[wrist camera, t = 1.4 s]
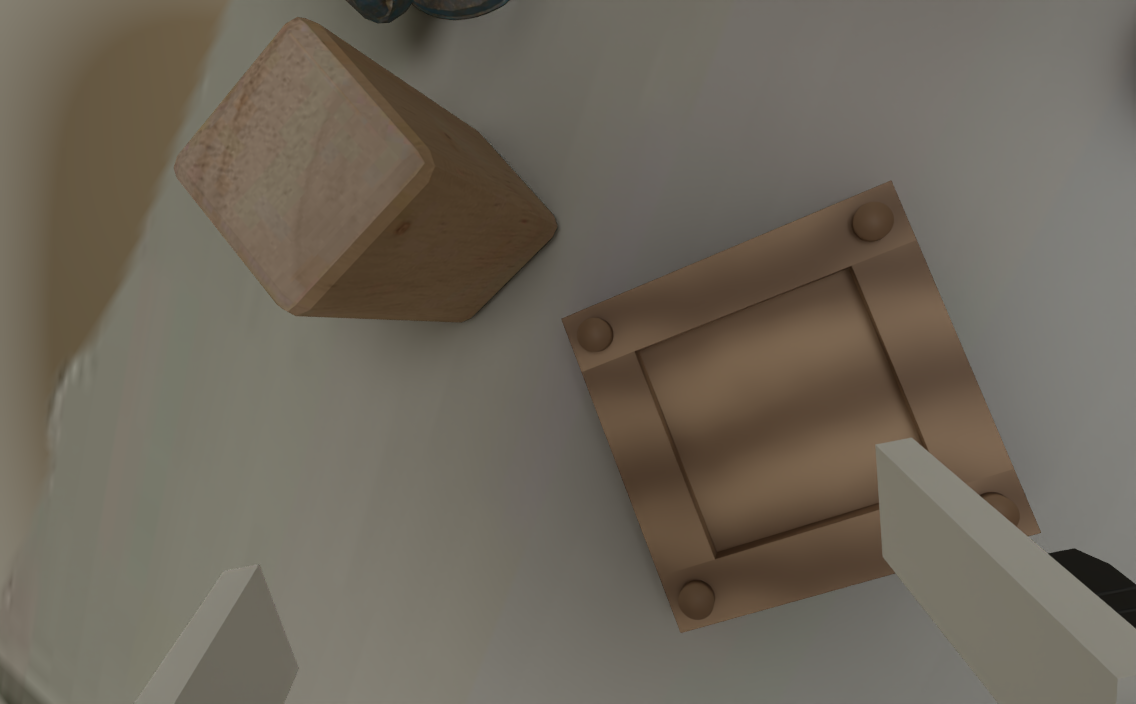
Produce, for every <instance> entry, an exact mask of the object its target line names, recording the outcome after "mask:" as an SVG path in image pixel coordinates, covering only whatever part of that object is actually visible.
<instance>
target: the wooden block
mask: <svg viewBox="0 0 1136 704" xmlns="http://www.w3.org/2000/svg"><path fill="white" fill-rule="evenodd" d="M174 170H175V174H176V177H177V179H178V180H179V181H180V183H181V184H182V185H183V186H184V188H185V189H186V190H187V191H188V193H189V194H190V195H191V196H192V198H193V199H194V200H195V201H196V203H197V204H198V205H199V207H200V208H201V209H202V210H203V212H204V213H205V214H206V215H207V217H208V218H209V219H210V220H211V222H212V223H213V224H214V225H215V227H216V228H217V229H218V231H219V232H220V233H221V234H222V236H223V237H224V238H225V239H226V241H227V242H228V243H229V244H230V246H231V247H232V248H233V250H234V251H235V252H236V253H237V255H238V256H239V257H240V258H241V260H242V261H243V262H244V263H245V265H246V266H247V267H248V268H249V270H250V271H251V272H252V274H253V275H254V276H255V277H256V279H257V280H258V281H259V282H260V284H261V285H262V286H263V287H264V289H265V290H266V291H267V292H268V294H269V295H270V296H271V298H272V299H273V300H274V301H275V303H276V304H277V305H278V306H280V307H281V308H282V309H284V310H286V311H287V312H289V313H291V314H293V315H295V316H308V317H334V318H360V319H387V320H413V321H439V322H463V321H466V320H468V319H471V318H472V317H473V316H474V315H475V314H476V313H477V312H478V311H479V310H480V309H481V308H482V307H483V306H484V305H485V304H486V303H487V302H488V301H489V300H490V299H491V298H492V297H493V296H494V295H495V294H496V293H497V292H498V291H499V290H500V289H501V288H502V287H503V286H504V285H505V284H506V283H507V282H508V281H509V280H510V279H511V278H512V277H513V276H514V275H515V274H516V273H517V272H518V271H519V270H520V269H521V268H522V267H523V266H524V265H525V264H526V263H527V262H528V261H529V260H530V259H531V258H532V257H533V256H534V255H535V254H536V253H537V252H538V251H539V250H540V249H541V248H542V247H543V246H544V245H545V244H546V243H547V242H548V241H549V240H550V239H551V238H552V237H553V235H554V233H555V231H556V229H557V223H556V220H555V218H554V215H553V214H552V213H551V212H550V211H549V210H548V208H547V207H546V206H545V205H544V204H543V203H542V202H541V201H540V200H539V199H538V197H537V196H536V195H535V194H534V193H533V192H532V191H531V190H530V189H529V187H528V186H527V185H526V184H525V183H524V182H523V181H522V180H521V179H520V177H519V176H518V175H517V174H516V173H515V172H514V171H513V170H512V169H511V167H510V166H509V165H508V164H507V163H506V162H505V161H504V160H503V159H502V158H501V156H500V155H499V154H498V153H497V152H496V151H495V150H494V149H493V148H492V146H491V145H490V144H489V143H488V142H487V141H486V140H485V139H484V138H483V136H482V135H481V134H480V133H479V132H478V131H476V130H475V129H474V128H472V127H471V126H469V125H468V124H466V123H465V122H463V121H462V120H460V119H459V118H457V117H456V116H454V115H453V114H451V113H450V112H448V111H447V110H445V109H444V108H442V107H441V106H440V105H438V104H437V103H435V102H434V101H432V100H431V99H429V98H428V97H426V96H425V95H423V94H422V93H420V92H419V91H417V90H416V89H414V88H413V87H411V86H410V85H408V84H407V83H405V82H404V81H403V80H401V79H400V78H398V77H397V76H395V75H394V74H392V73H391V72H389V71H388V70H386V69H385V68H383V67H382V66H380V65H379V64H377V63H376V62H374V61H373V60H371V59H370V58H369V57H367V56H366V55H364V54H363V53H361V52H360V51H358V50H357V49H355V48H354V47H352V46H351V45H349V44H348V43H346V42H345V41H343V40H342V39H340V38H339V37H337V36H336V35H335V34H333V33H332V32H330V31H329V30H327V29H326V28H324V27H323V26H321V25H320V24H318V23H315V22H313V21H311V20H308V19H306V18H300V17H296V18H295V19H293V20H291V21H290V22H288V23H286V24H285V25H284V26H283V27H282V29H281V30H280V31H279V32H278V33H277V35H276V36H275V37H274V38H273V40H272V41H271V42H270V43H269V45H268V46H267V47H266V48H265V49H264V51H263V52H262V53H261V54H260V56H259V57H258V58H257V59H256V60H255V62H254V63H253V64H252V65H251V67H250V68H249V69H248V70H247V71H246V73H245V74H244V75H243V76H242V78H241V79H240V80H239V81H238V82H237V84H236V85H235V86H234V87H233V89H232V90H231V91H230V92H229V93H228V95H227V96H226V97H225V98H224V100H223V101H222V102H221V103H220V104H219V106H218V107H217V108H216V109H215V111H214V112H213V113H212V114H211V115H210V117H209V118H208V119H207V120H206V122H205V123H204V124H203V125H202V126H201V128H200V129H199V130H198V131H197V133H196V134H195V135H194V136H193V137H192V139H191V140H190V141H189V142H188V144H187V145H186V146H185V147H184V148H183V150H182V151H181V152H180V153H179V155H178V156H177V159H176V162H175V165H174Z"/></svg>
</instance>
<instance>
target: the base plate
mask: <svg viewBox="0 0 1136 704" xmlns="http://www.w3.org/2000/svg"><path fill="white" fill-rule="evenodd" d="M562 322H563V325H564V327H565V330H566V333H567V335H568V338H569V340H570V343H571V346H572V348H573V351H574V354H575V356H576V359H577V361H578V364H579V367H580V369H581V372H582V375H583V377H584V380H585V382H586V385H587V388H588V390H589V393H590V396H591V398H592V401H593V404H594V406H595V409H596V411H597V414H598V417H599V419H600V422H601V425H602V427H603V430H604V432H605V435H606V438H607V440H608V443H609V446H610V448H611V451H612V453H613V456H614V459H615V461H616V464H617V467H618V469H619V472H620V475H621V477H622V480H623V482H624V485H625V488H626V490H627V493H628V496H629V498H630V501H631V503H632V506H633V509H634V511H635V514H636V517H637V519H638V522H639V524H640V527H641V530H642V532H643V535H644V538H645V540H646V543H647V546H648V548H649V551H650V553H651V556H652V559H653V561H654V564H655V567H656V569H657V572H658V574H659V577H660V580H661V582H662V585H663V588H664V590H665V593H666V595H667V598H668V601H669V603H670V606H671V609H672V611H673V614H674V616H675V619H676V622H677V624H678V627H679V630H680V632H681V633H683V632H686V631H690V630H693V629H697V628H701V627H704V626H708V625H711V624H715V623H719V622H722V621H726V620H729V619H733V618H737V617H740V616H744V615H747V614H751V613H754V612H758V611H762V610H765V609H769V608H772V607H776V606H780V605H783V604H787V603H790V602H794V601H798V600H801V599H805V598H808V597H812V596H816V595H819V594H823V593H826V592H830V591H833V590H837V589H841V588H844V587H848V586H851V585H855V584H859V583H862V582H866V581H869V580H873V579H877V578H880V577H884V576H887V575H891V574H895V572H894V571H893V569H892V568H891V567H890V566H889V564H888V563H887V562H886V560H885V559H884V558H883V555H882V539H881V524H880V509H879V494H878V479H877V463H876V448H875V445H876V444H881V443H886V442H891V441H896V440H902V439H907V438H913V439H914V440H915V441H916V442H918V443H919V444H920V445H921V446H922V447H923V448H925V449H926V450H927V451H928V452H929V453H930V454H932V455H933V456H934V457H935V458H936V459H937V460H939V461H940V462H941V463H942V464H943V465H945V466H946V467H947V468H948V469H949V470H950V471H952V472H953V473H954V474H955V475H956V476H957V477H959V478H960V479H961V480H962V481H963V482H964V483H966V484H967V485H968V486H969V487H970V488H971V489H973V490H974V491H975V492H976V493H977V494H979V495H980V496H981V497H982V498H983V499H984V500H986V501H987V502H988V503H989V504H990V505H991V506H993V507H994V508H995V509H996V510H997V511H998V512H1000V513H1001V514H1002V515H1003V516H1004V517H1005V518H1007V519H1008V520H1009V521H1010V522H1011V523H1012V524H1014V525H1015V526H1016V527H1017V528H1018V529H1020V530H1021V531H1022V532H1023V533H1024V534H1025V535H1027V536H1031V535H1035V534H1038V533H1041V531H1040V529H1039V526H1038V524H1037V522H1036V519H1035V517H1034V515H1033V512H1032V510H1031V507H1030V505H1029V503H1028V500H1027V498H1026V496H1025V493H1024V491H1023V489H1022V486H1021V484H1020V482H1019V479H1018V477H1017V475H1016V472H1015V470H1014V468H1013V465H1012V463H1011V461H1010V458H1009V456H1008V453H1007V451H1006V449H1005V446H1004V444H1003V442H1002V439H1001V437H1000V435H999V432H998V430H997V428H996V425H995V423H994V421H993V418H992V416H991V414H990V411H989V409H988V406H987V404H986V402H985V399H984V397H983V395H982V392H981V390H980V388H979V385H978V383H977V381H976V378H975V376H974V374H973V371H972V369H971V367H970V364H969V362H968V359H967V357H966V355H965V352H964V350H963V348H962V345H961V343H960V341H959V338H958V336H957V334H956V331H955V329H954V327H953V324H952V322H951V320H950V317H949V315H948V312H947V310H946V308H945V305H944V303H943V301H942V298H941V296H940V294H939V291H938V289H937V287H936V284H935V282H934V280H933V277H932V275H931V273H930V270H929V268H928V266H927V263H926V261H925V258H924V256H923V254H922V251H921V249H920V247H919V244H918V242H917V240H916V237H915V235H914V233H913V230H912V228H911V226H910V223H909V221H908V219H907V216H906V214H905V211H904V209H903V207H902V204H901V202H900V200H899V197H898V195H897V193H896V190H895V188H894V186H893V183H892V181H889V182H886V183H884V184H882V185H879V186H877V187H874V188H872V189H870V190H867V191H865V192H862V193H860V194H858V195H855V196H853V197H851V198H848V199H846V200H843V201H841V202H839V203H836V204H834V205H831V206H829V207H827V208H824V209H822V210H820V211H817V212H815V213H812V214H810V215H808V216H805V217H803V218H800V219H798V220H796V221H793V222H791V223H789V224H786V225H784V226H781V227H779V228H777V229H774V230H772V231H769V232H767V233H765V234H762V235H760V236H758V237H755V238H753V239H750V240H748V241H746V242H743V243H741V244H738V245H736V246H734V247H731V248H729V249H727V250H724V251H722V252H719V253H717V254H715V255H712V256H710V257H707V258H705V259H703V260H700V261H698V262H696V263H693V264H691V265H688V266H686V267H684V268H681V269H679V270H676V271H674V272H672V273H669V274H667V275H665V276H662V277H660V278H657V279H655V280H653V281H650V282H648V283H645V284H643V285H641V286H638V287H636V288H634V289H631V290H629V291H626V292H624V293H622V294H619V295H617V296H614V297H612V298H610V299H607V300H605V301H603V302H600V303H598V304H595V305H593V306H591V307H588V308H586V309H583V310H581V311H579V312H576V313H574V314H572V315H569V316H567V317H564V318H562Z"/></svg>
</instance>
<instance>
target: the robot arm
mask: <svg viewBox="0 0 1136 704" xmlns="http://www.w3.org/2000/svg"><path fill="white" fill-rule="evenodd" d="M875 448H876V463H877V479H878V494H879V509H880V524H881V539H882V555H883V558H884V559H885V560H886V562H887V563H888V564H889V566H890V567H891V568H892V569H893V571H894V572H895V573H896V574H897V576H898V577H899V578H900V579H901V581H902V582H903V583H904V584H905V586H906V587H907V588H908V590H909V591H910V592H911V593H912V595H913V596H914V597H915V598H916V600H917V601H918V602H919V603H920V605H921V606H922V607H923V609H924V610H925V611H926V612H927V614H928V615H929V616H930V617H931V619H932V620H933V621H934V622H935V624H936V625H937V626H938V628H939V629H940V630H941V631H942V633H943V634H944V635H945V636H946V638H947V639H948V640H949V641H950V643H951V644H952V645H953V647H954V648H955V649H956V650H957V652H958V653H959V654H960V655H961V657H962V658H963V659H964V660H965V662H966V663H967V664H968V666H969V667H970V668H971V669H972V671H973V672H974V673H975V674H976V676H977V677H978V678H979V679H980V681H981V682H982V683H983V685H984V686H985V687H986V688H987V690H988V691H989V692H990V693H991V695H992V696H993V697H994V698H995V700H996V701H997V702H998V704H1136V584H1135V583H1133V582H1132V581H1131V580H1129V579H1128V578H1127V577H1126V576H1124V575H1123V574H1122V573H1120V572H1119V571H1118V570H1117V569H1115V568H1114V567H1113V566H1111V565H1110V564H1108V563H1106V562H1104V561H1101V560H1099V559H1097V558H1095V557H1092V556H1090V555H1088V554H1086V553H1083V552H1081V551H1079V550H1077V549H1069V550H1064V551H1058V552H1053V553H1046V552H1045V551H1044V550H1043V549H1042V548H1041V547H1039V546H1038V545H1037V544H1036V543H1035V542H1034V541H1032V540H1031V539H1030V538H1029V537H1028V536H1027V535H1025V534H1024V533H1023V532H1022V531H1021V530H1020V529H1018V528H1017V527H1016V526H1015V525H1014V524H1012V523H1011V522H1010V521H1009V520H1008V519H1007V518H1005V517H1004V516H1003V515H1002V514H1001V513H1000V512H998V511H997V510H996V509H995V508H994V507H993V506H991V505H990V504H989V503H988V502H987V501H986V500H984V499H983V498H982V497H981V496H980V495H979V494H977V493H976V492H975V491H974V490H973V489H971V488H970V487H969V486H968V485H967V484H966V483H964V482H963V481H962V480H961V479H960V478H959V477H957V476H956V475H955V474H954V473H953V472H952V471H950V470H949V469H948V468H947V467H946V466H945V465H943V464H942V463H941V462H940V461H939V460H937V459H936V458H935V457H934V456H933V455H932V454H930V453H929V452H928V451H927V450H926V449H925V448H923V447H922V446H921V445H920V444H919V443H918V442H916V441H915V440H914V439H913V438H907V439H902V440H896V441H891V442H886V443H881V444H876V445H875ZM298 669H299V667H298V665H297V662H296V660H295V657H294V654H293V652H292V649H291V646H290V644H289V641H288V639H287V636H286V633H285V631H284V628H283V625H282V623H281V620H280V617H279V615H278V612H277V610H276V607H275V604H274V602H273V599H272V596H271V594H270V591H269V589H268V586H267V583H266V581H265V578H264V575H263V573H262V570H261V568H260V565H259V564H257V565H252V566H246V567H241V568H236V569H231V570H226V571H223V573H222V574H221V576H220V577H219V579H218V580H217V582H216V583H215V585H214V586H213V587H212V589H211V590H210V592H209V593H208V595H207V596H206V598H205V599H204V601H203V602H202V604H201V605H200V607H199V608H198V610H197V611H196V613H195V614H194V615H193V617H192V618H191V620H190V621H189V623H188V624H187V626H186V627H185V629H184V630H183V632H182V633H181V635H180V636H179V638H178V639H177V641H176V642H175V643H174V645H173V646H172V648H171V649H170V651H169V652H168V654H167V655H166V657H165V658H164V660H163V661H162V663H161V664H160V666H159V667H158V669H157V670H156V671H155V673H154V674H153V676H152V677H151V679H150V680H149V682H148V683H147V685H146V686H145V688H144V689H143V691H142V692H141V694H140V695H139V697H138V698H137V699H136V701H135V702H134V704H284V702H285V700H286V698H287V695H288V693H289V691H290V688H291V686H292V684H293V681H294V679H295V676H296V674H297V672H298Z"/></svg>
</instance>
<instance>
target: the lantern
mask: <svg viewBox="0 0 1136 704" xmlns="http://www.w3.org/2000/svg"><path fill="white" fill-rule="evenodd" d="M346 1H347V2H348V3H349V4H350V5H351V6H352V7H353V8H355V9H356V10H357V11H358V12H359V13H360V14H361V15H362V16H363V17H364V18H366V19H368V20H371V21H373V22H376V23H390V22H392V21H393V20H395V19H396V18H398V17H399V16H401V15H402V14H404V13H405V12H406V10H407V9H408V8H409V6H410V5H411V4H412V5H413V6H415V7H416V8H418V9H420V10H422V11H423V12H425V13H427V14H429V15H432V16H435V17H439V18H446V19H452V20H455V19H464V18H471V17H477V16H479V15H482V14H485V13H487V12H489V11H492V10H494V9H496V8H498V7H501V6H503V5H504V4H505V3H506V2H507V1H508V0H346Z"/></svg>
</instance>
